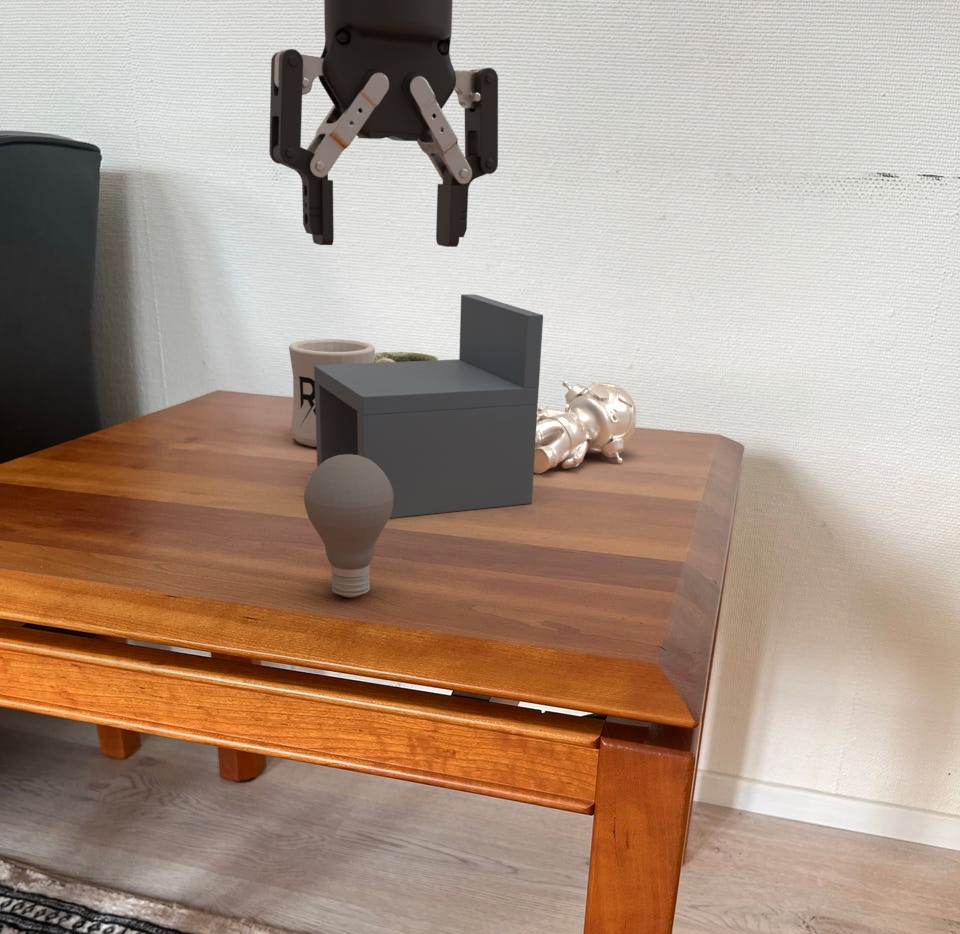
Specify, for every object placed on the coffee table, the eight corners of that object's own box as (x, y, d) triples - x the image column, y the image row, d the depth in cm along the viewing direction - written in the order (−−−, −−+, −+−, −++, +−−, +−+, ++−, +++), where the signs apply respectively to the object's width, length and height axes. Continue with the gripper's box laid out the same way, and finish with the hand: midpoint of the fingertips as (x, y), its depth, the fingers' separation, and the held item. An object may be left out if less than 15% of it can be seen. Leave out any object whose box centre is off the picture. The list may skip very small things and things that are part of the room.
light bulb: (389, 577, 75) (389, 443, 71) (397, 610, 70) (397, 467, 65) (307, 580, 74) (301, 444, 70) (308, 613, 69) (303, 468, 64)
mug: (279, 447, 107) (275, 349, 103) (306, 427, 115) (303, 336, 111) (394, 456, 106) (395, 357, 101) (413, 435, 114) (414, 343, 109)
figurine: (514, 389, 99) (614, 346, 107) (482, 430, 105) (579, 386, 113) (576, 478, 98) (672, 427, 106) (540, 514, 104) (634, 463, 112)
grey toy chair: (363, 521, 86) (361, 319, 79) (317, 476, 98) (311, 296, 91) (531, 503, 93) (543, 315, 86) (469, 463, 104) (475, 294, 97)
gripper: (472, -31, 65) (462, 242, 72) (250, -63, 59) (261, 238, 66) (528, -49, 59) (511, 252, 65) (286, -86, 53) (295, 248, 60)
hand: (386, 245), depth 66 cm, fingers open, 8 cm apart
